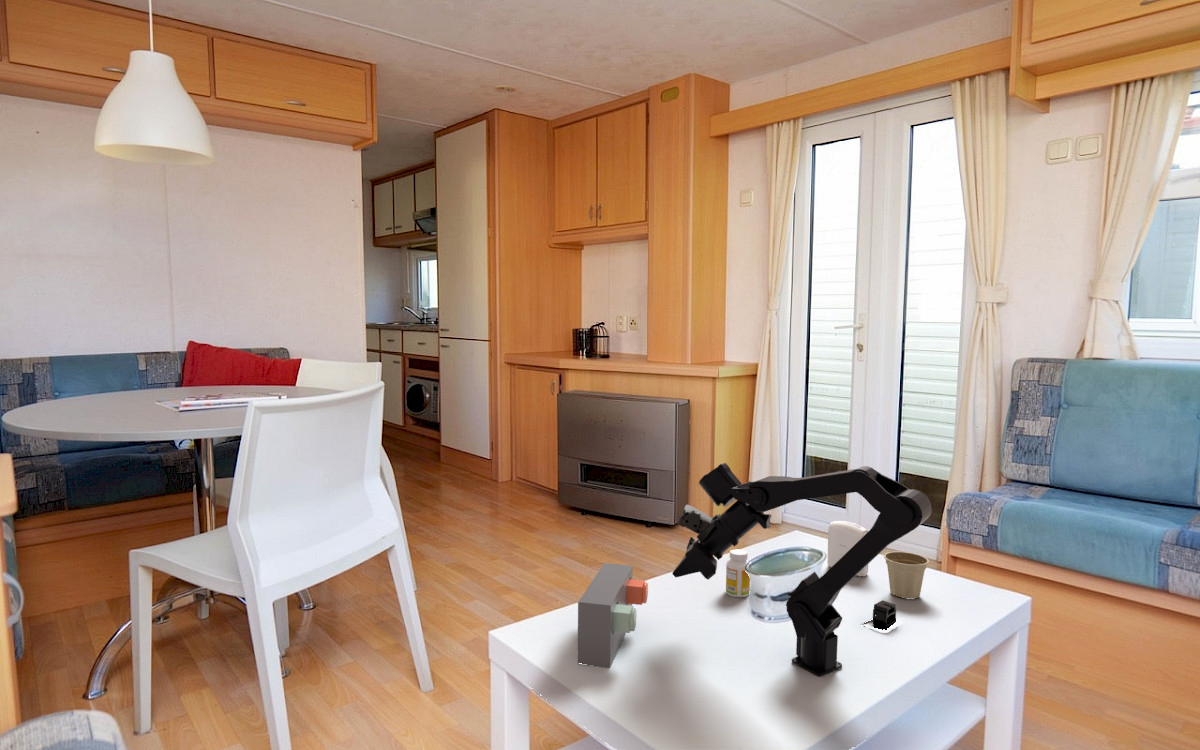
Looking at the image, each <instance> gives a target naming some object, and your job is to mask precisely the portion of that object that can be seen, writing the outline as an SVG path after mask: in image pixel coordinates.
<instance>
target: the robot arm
mask: <svg viewBox="0 0 1200 750" xmlns="http://www.w3.org/2000/svg"><path fill="white" fill-rule="evenodd" d="M698 484H699V486H700V487H701V488H702V489H703V491H704V492H705V493H706V494H707V497H709V498H710V499H711V501H712V502H713V503H714V504H715V506H717V507H720V506H721V505H722V506H723V507H724V508H726V507H727V506H729V505H730V506H729V507H728V508H727V509H725V510H724V511H723V513H722V514H720V513H718V514H717V513H716V514H715V515H714V516H713V517H711V516H709V515H708V514H706V513H705V512H703V511H701V510H699V509H698V508H695V507H694V506H692V505H690V504H686V505H685V506H684V507H683V510H682V512H681V514H680V516H679V518H678V520H677V524H678V525H679V526H681V527H682V528H686V529H688V530H690V531H691V532H694V533H695V534H697V535H696V538H693V536H691V537H689V541H688V543H687V545H686V551H685V553H684V556H683V558H682V559H681V560H680V561H679V563H678V564H677V565H676V567H675V568H674V570H673V571H672V575H673V576H674V577H675V578H680V577H683V576H688V575H691V574H696V573H700V574H701V575H702V576H703V577H704V579H706V580H710V579H711V578H712V577H713V576H715V575H716V573H717V568H718V561H719V560H721V558H723V556H724V553H725V552H727V550H729V549H730V548H731V547H732V546H733V547H736V546H737V545H738V544H739V541H740V539H742V538H743V537H744V536H745V535H746V534H748V533H749V532H750V531H751V530H752V529H753V528H754V527H756V526H757V525H760V526H761V527H762V529H764V530H766V529H770V528H771V518H772V514H771V513H765V512H768V511H771V510H774V509H777V508H780V507H784V506H785V505H788V504H790V503H791V504H792V503H793V502H796V501H802V500H809V499H816V498H823V497H830V496H831V497H832V496H837V495H846V494H852V493H857V495H860V496H862V498H863V499H864V500H865V501H866V502H868V503H869V505H870V506H871V507H872V508H873V509H874V510H876V511H877V512H878V513H879V514H878V516H877V517H876V520H875V521H874V523H873V526H871V528H870V529H869V530H868V533H866V534H865V535H864V536H863V537H862V538H861V539H860V540H859V541H858V542H857V543H856V544H855V545H854V546H853V547H852V548H851V549H850V550H849V551H848V552H847V553H846V554H845V555H844V556H843V557H842V558H841V559H840V560H839V561H838V562H836V563H835V564H834V565H833V566H832V567H829V569H828V570H827V571H826V572H825V573H824V574H823V575H822V576H820V577H819V576H818V574H817V573H816V571H814V572H812V573H811V574H809V575H808V576H807V577H805V578H803V579H802V580H801V581H800V582H799V584H798V585H797V587H795V588H794V589H792V590H791V591H790V592H788V593H787V596H788V597H789V598H788V599H787V601H786V603H785V606H786V612H787V615H788V617H789V618H790V620H791V622H792V625H793V626H792V627H793V628H794V631H795V635H796V649H795V655H796V657H792V658H791V662H792V663H793V664H795V665H796V666H799V667H801V668H803V669H805V670H807V671H809V672H810V673H813V674H814V675H816V676H818V677H821V676H824V675H826V674H829V673H831V672H833V671H836V670H838V669H841V668H843V664H842V662H839V661H838V641H839V640H838V635H837V634H836V633H835V630H836V629H838V628H839V627H840V625H841V622H842V621H843V616H842V615H840V613H839V612H838V611H837V609H836V608H835V607H834V605H833V604H834V602H835V601H836V600H837V598H838V596H839V593H840V592H841V590H842V589H843V588H844V587H845V586H846V585H847V584H848V583H850V582H851V581H852V580H853V579H854V578H855V577H856V576H857V574H858V573H859V572H860V571H861V570H862V569H863V568H864V567H865V566H867V565H868V566H869V564H870V563H871V562H872V561H873V560H874V559H875V558H877V556H878V555H880V554H881V553H882V551H884V550H885V549H887V547H888V546H890V544H892V543H894V542H896V541H897V540H899V539H901V538H903V537H905V535H908V534H909V533H911V532H912V531H914V530H915V529H917V528H918V527H919V526H921V525H922V524H924V522H925V521H926V520H928V519H929V518H930V516H931V515H932V512H933V510H932V503H931V500H930V499H929V498H928V496H927V495H926V494H925V493H923V492H922V491H920V490H917V489H910V488H909V487H907V486H905V485H904V484H903V483H902V482H899V481H897V480H895V479H893V478H890V477H888V476H886V475H884V474H882V473H881V472H879V471H877V470H876V469H874V468H873V467H872V466H868V465H864V466H863V465H862V466H860V467H858V468H853V469H847V470H840V471H836V472H835V471H834V472H829V473H823V474H816V475H809V476H804V477H802V476H801V477H791V476H785V475H784V476H782V475H781V476H777V475H769V476H765V477H764V478H761V479H758V480H756V481H747V482H744V483H742V482H741V481H740V480H739V478H738V477H737V476H736V475H735V474H734V472H733V471H732V470H731V467H729V465H728V464H727V463H726V462H723V463H720V464H719V465H717V467H714V469H712V470H711V471H709V472H708V473H707V474H704V475H703V476H702V477H701V478H700V480H699V481H698ZM732 503H733V504H732Z"/></svg>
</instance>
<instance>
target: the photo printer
mask: <svg viewBox="0 0 1200 750" xmlns="http://www.w3.org/2000/svg"><path fill="white" fill-rule="evenodd" d="M828 525H829V526H828V530H827V566H828V567H829V568H831V567H832V566H833V565H834V564H835V563H836V562H838V561H839V560H840V559H841V558H842V557H843V556H844V555H845V554H846V553H847V552H848V551H849V550H850V549H851V548H852V547H853V546H854V545H855V544H856V543H857V542H858V541H859V540H860V539H861V538H862V537H863V536H864V535H865V534H866V533H868V532H869V530H868V529H866V528H865V527H863V526H861V525H859V524H857V523H854V522H851V521H848V520H834V521H831V522H830V524H828ZM868 573H869V564H868V565H867V566H865V567H864V568H863V569H862V570H861V571H860V572H859V573H858V574H857V575H856V576H857V577H861V576H863V577H866V576H868Z"/></svg>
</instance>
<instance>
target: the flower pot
mask: <svg viewBox="0 0 1200 750" xmlns="http://www.w3.org/2000/svg"><path fill="white" fill-rule="evenodd" d="M883 558H884V559H885V563H886V566H887V572H888V573H887V574H888V583H889V590H890V592H891V593H892V594H893V595H896V596H895V597H899V598H900V597H903V598H916V599H917V598H920V597H921V592H922V586H923V580H924V575H925V570H926V569H927V565H928V564H929V563H930V560H929V558H927V557H925V556H923V555H920V554H918V553H914V552H907V551H889V552H886V553H884V555H883ZM891 593H890V594H891ZM892 594H891V595H892ZM893 595H892V596H893ZM919 596H920V597H919Z"/></svg>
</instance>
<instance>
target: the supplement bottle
mask: <svg viewBox="0 0 1200 750" xmlns="http://www.w3.org/2000/svg"><path fill="white" fill-rule="evenodd" d="M729 558H730V559H728V560H727V561H726V565H725V566H726V571H725V572H726V574H725V593H726V594H727V595H728V596H730V597H733V598H746V597H749V596H750V594H749V591H751V577H750V578H749V576H748V574H747V573H746V572H745V565H746V564H747V563H748V562H749V561H748V558H749V557H748V551H746V550H743V549H737V548H736V549H731V550H729Z"/></svg>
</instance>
